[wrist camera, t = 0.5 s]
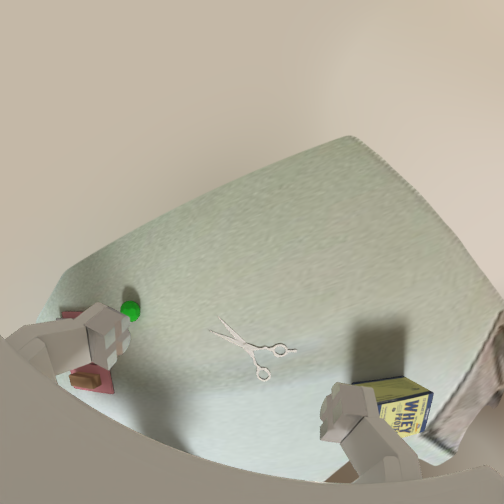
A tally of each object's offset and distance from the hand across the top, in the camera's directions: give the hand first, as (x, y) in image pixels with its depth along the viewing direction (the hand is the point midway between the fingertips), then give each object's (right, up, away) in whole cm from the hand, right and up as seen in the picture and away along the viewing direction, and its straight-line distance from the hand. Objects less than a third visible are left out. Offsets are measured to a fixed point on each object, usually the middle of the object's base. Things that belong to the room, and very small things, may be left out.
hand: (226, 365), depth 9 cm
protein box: (+33, -33, +48) cm, 67 cm away
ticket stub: (-43, -30, +49) cm, 72 cm away
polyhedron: (-28, -10, +52) cm, 60 cm away
